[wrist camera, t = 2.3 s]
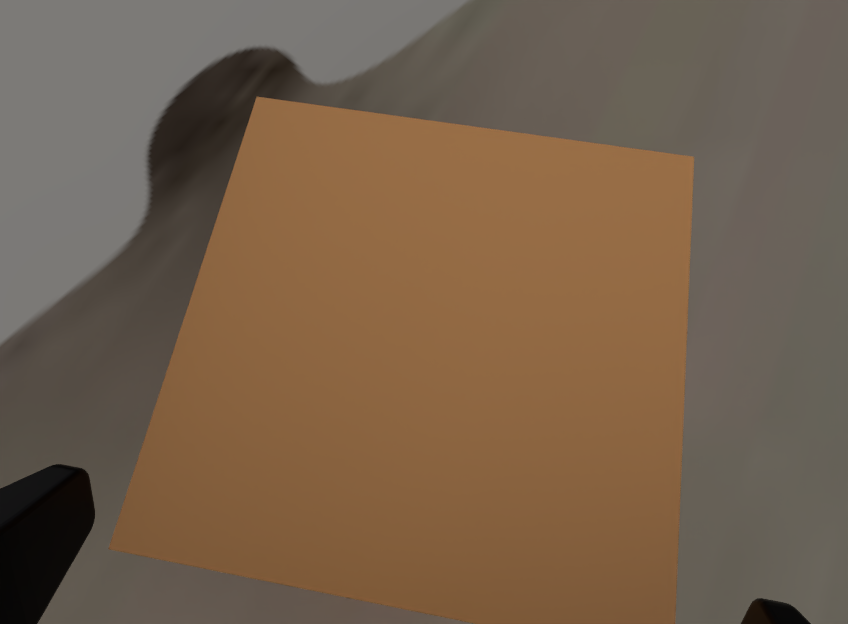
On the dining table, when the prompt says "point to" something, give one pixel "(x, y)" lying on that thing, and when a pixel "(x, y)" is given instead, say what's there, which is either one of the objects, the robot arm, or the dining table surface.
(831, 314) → the dining table surface
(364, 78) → the dining table surface
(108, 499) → the dining table surface
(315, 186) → the orange brick
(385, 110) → the dining table surface
